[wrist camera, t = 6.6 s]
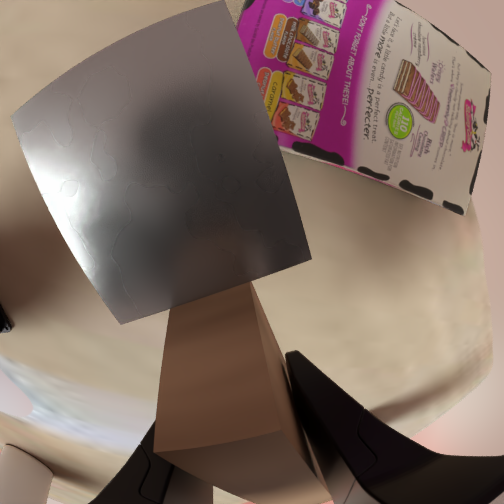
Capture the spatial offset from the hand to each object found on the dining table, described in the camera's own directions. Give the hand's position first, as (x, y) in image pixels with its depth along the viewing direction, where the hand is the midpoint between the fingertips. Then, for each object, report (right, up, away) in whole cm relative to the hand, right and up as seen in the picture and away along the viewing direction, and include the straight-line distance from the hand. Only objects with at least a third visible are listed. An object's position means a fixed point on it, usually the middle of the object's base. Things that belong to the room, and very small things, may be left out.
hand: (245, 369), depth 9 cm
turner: (-1, +2, 0) cm, 2 cm away
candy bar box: (-1, +15, +3) cm, 15 cm away
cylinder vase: (-47, -40, +24) cm, 66 cm away
